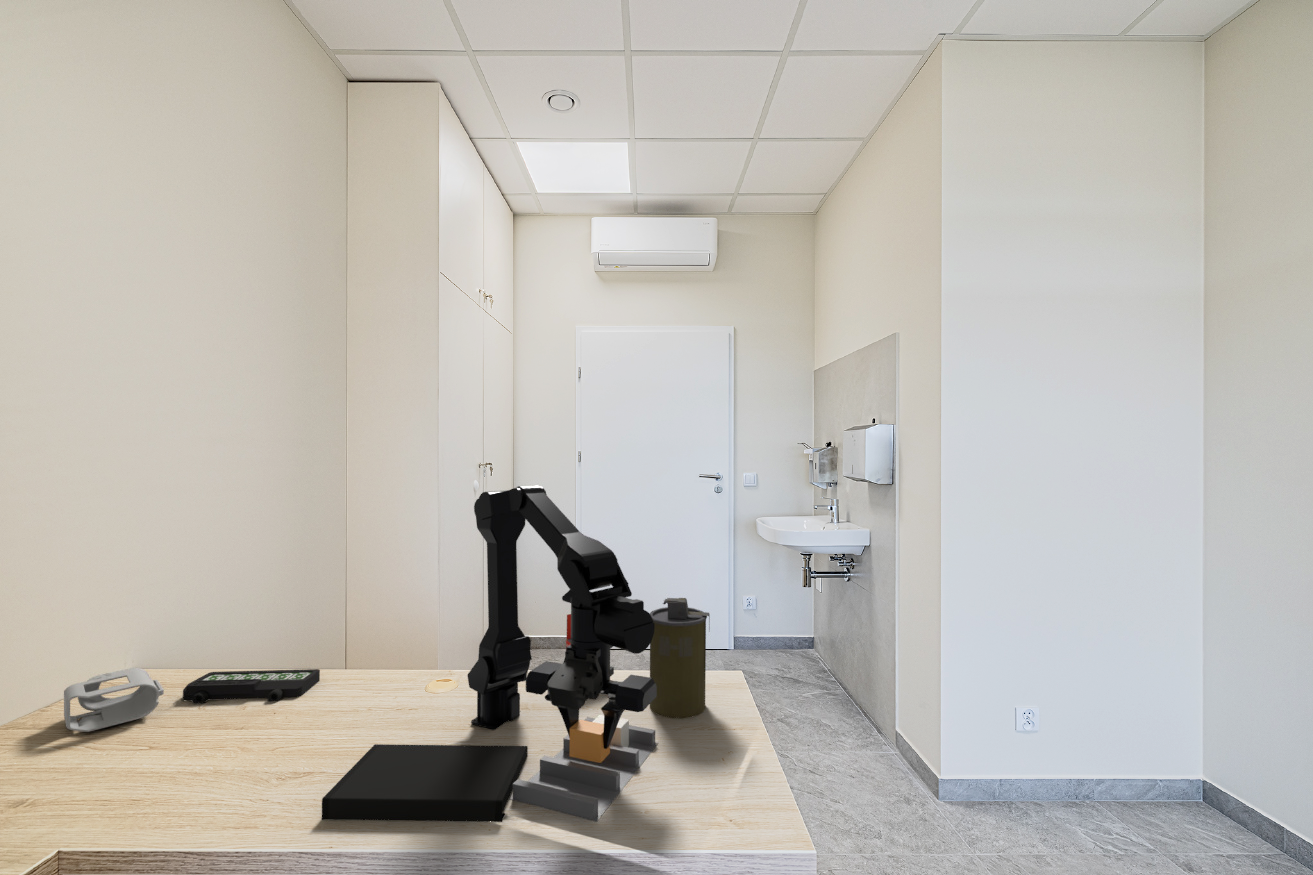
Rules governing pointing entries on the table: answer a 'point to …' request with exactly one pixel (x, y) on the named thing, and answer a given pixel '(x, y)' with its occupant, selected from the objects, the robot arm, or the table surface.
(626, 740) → the white block
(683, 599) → the canister
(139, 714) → the cable organizer
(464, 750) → the external hard drive
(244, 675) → the digital display
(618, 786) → the grey ridged tray
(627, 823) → the table surface
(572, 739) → the orange block
